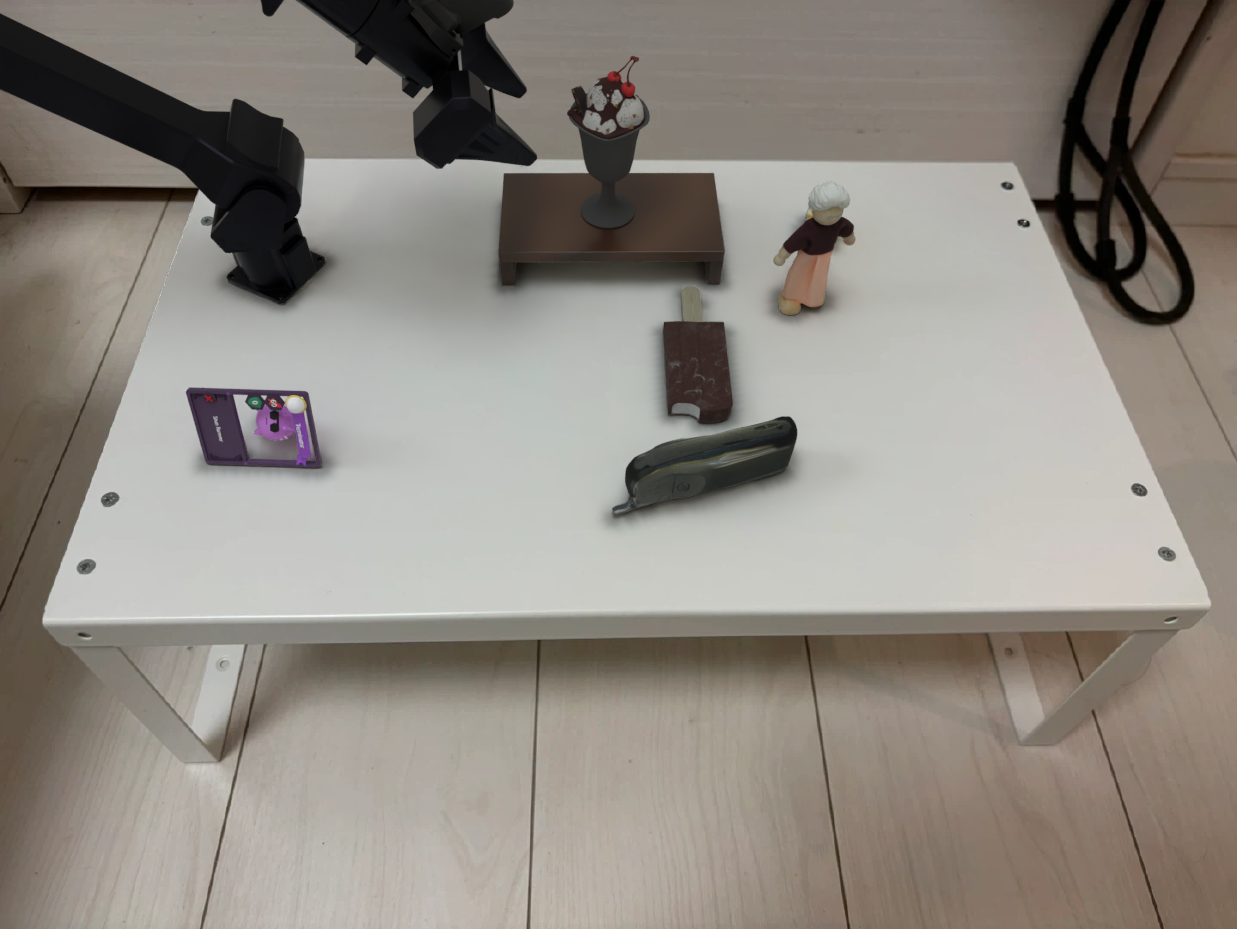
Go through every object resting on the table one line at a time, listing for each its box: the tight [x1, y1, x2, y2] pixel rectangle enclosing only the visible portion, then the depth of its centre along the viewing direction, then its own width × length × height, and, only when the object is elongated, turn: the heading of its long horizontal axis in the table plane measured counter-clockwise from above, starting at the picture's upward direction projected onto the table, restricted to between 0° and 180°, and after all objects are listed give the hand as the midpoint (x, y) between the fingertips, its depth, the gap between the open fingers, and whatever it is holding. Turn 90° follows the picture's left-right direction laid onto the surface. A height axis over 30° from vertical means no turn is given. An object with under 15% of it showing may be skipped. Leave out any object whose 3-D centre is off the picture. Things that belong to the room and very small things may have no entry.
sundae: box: [566, 55, 651, 228], centre depth 79 cm, size 7×7×15 cm
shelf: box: [497, 172, 726, 287], centre depth 87 cm, size 20×11×4 cm, turn 92°
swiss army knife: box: [611, 415, 798, 516], centre depth 70 cm, size 5×3×15 cm
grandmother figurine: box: [772, 180, 857, 316], centre depth 79 cm, size 8×4×13 cm, turn 123°
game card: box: [185, 387, 323, 468], centre depth 72 cm, size 7×5×9 cm
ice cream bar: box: [662, 285, 734, 424], centre depth 80 cm, size 5×2×15 cm
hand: (528, 126), depth 76 cm, fingers open, 9 cm apart
